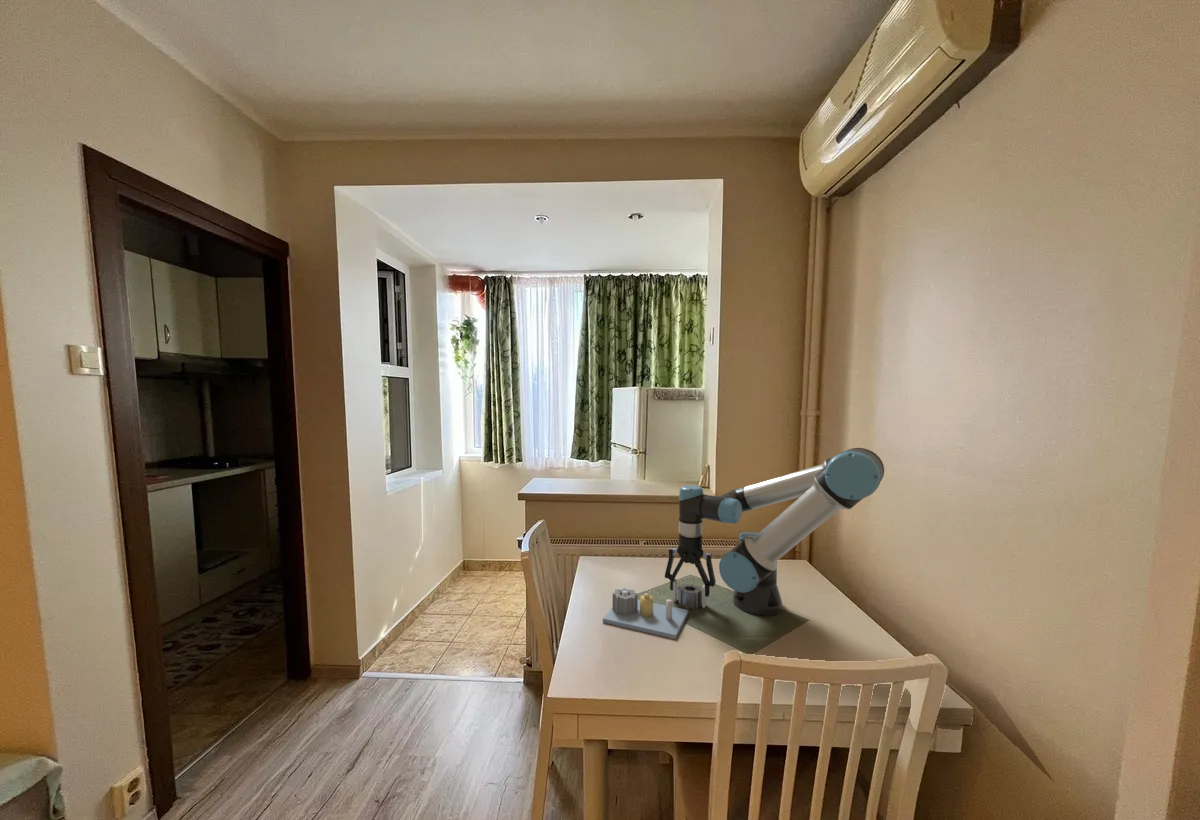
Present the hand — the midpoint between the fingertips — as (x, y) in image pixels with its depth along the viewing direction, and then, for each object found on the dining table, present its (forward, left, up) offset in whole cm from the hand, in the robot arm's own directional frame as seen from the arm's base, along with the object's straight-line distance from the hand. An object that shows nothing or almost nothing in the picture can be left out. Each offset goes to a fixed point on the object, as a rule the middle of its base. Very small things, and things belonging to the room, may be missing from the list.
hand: (689, 602), depth 142 cm
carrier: (+10, +15, 0) cm, 18 cm away
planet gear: (0, 0, 0) cm, 0 cm away
